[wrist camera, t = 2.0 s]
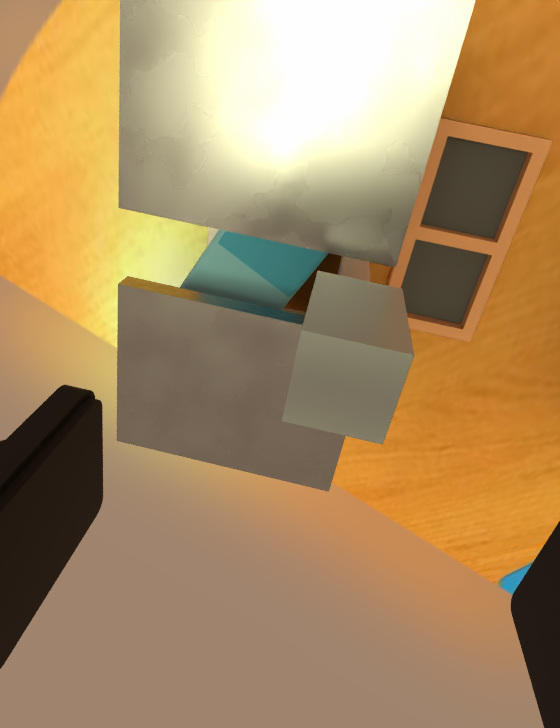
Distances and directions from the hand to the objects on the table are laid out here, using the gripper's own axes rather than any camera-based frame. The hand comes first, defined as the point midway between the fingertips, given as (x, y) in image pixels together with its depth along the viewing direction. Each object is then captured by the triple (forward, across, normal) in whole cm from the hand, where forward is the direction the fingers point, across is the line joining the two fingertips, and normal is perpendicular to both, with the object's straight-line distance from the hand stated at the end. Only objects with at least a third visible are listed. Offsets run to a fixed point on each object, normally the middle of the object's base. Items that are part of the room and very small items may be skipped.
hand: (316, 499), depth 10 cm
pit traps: (+26, -7, 0) cm, 27 cm away
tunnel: (+26, +4, 0) cm, 27 cm away
